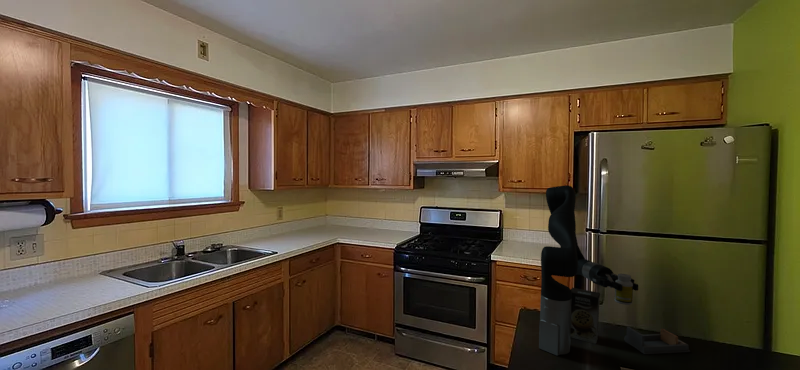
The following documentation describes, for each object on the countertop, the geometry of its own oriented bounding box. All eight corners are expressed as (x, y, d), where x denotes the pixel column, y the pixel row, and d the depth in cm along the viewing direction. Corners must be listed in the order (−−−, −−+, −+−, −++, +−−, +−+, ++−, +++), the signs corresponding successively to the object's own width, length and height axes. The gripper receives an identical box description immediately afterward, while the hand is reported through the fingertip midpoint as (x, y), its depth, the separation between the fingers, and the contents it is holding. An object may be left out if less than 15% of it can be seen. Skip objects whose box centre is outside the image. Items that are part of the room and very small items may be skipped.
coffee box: (566, 337, 122) (568, 291, 122) (570, 330, 128) (571, 286, 127) (596, 344, 117) (598, 297, 116) (598, 337, 122) (600, 291, 122)
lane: (644, 354, 111) (645, 337, 111) (623, 340, 120) (624, 325, 120) (690, 351, 113) (691, 335, 113) (666, 338, 122) (667, 323, 122)
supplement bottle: (635, 305, 121) (636, 278, 121) (617, 304, 122) (619, 276, 122) (628, 300, 126) (629, 273, 126) (611, 298, 128) (612, 272, 127)
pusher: (675, 348, 114) (675, 336, 114) (660, 339, 120) (660, 328, 120) (677, 348, 114) (678, 336, 114) (662, 339, 120) (662, 328, 120)
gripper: (580, 264, 137) (610, 277, 120) (614, 263, 139) (649, 277, 122) (579, 283, 138) (609, 299, 121) (613, 282, 139) (648, 298, 122)
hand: (629, 288), depth 122 cm, fingers closed on supplement bottle, 5 cm apart
